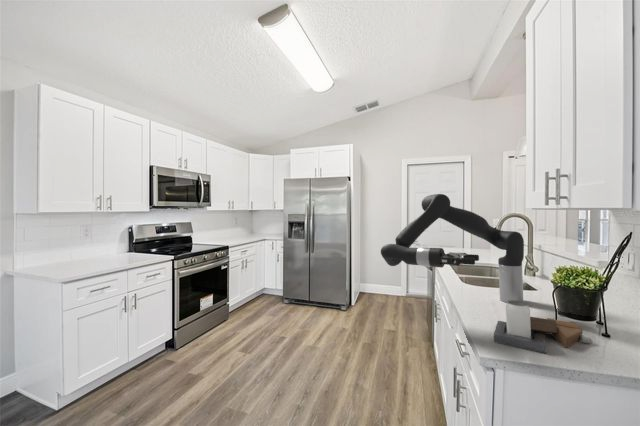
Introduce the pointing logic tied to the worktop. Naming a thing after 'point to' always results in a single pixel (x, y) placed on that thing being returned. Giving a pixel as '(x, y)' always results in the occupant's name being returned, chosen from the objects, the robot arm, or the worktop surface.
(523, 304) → the can
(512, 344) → the gray square frame plate
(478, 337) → the worktop surface
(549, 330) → the wooden blocks
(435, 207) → the robot arm
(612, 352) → the worktop surface
